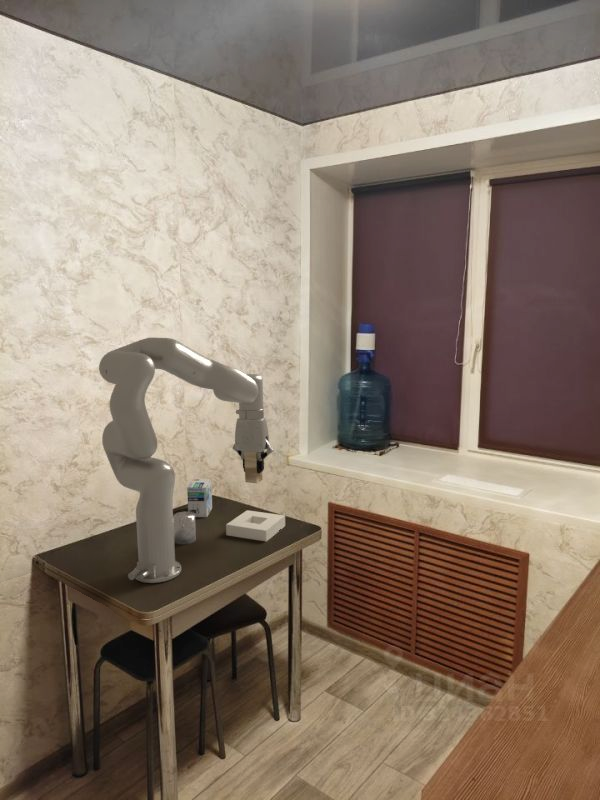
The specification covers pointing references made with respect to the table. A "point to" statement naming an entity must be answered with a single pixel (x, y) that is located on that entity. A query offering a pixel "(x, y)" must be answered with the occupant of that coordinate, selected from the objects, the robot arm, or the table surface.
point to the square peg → (251, 467)
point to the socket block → (255, 525)
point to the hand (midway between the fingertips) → (253, 470)
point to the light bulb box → (200, 497)
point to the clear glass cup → (184, 527)
